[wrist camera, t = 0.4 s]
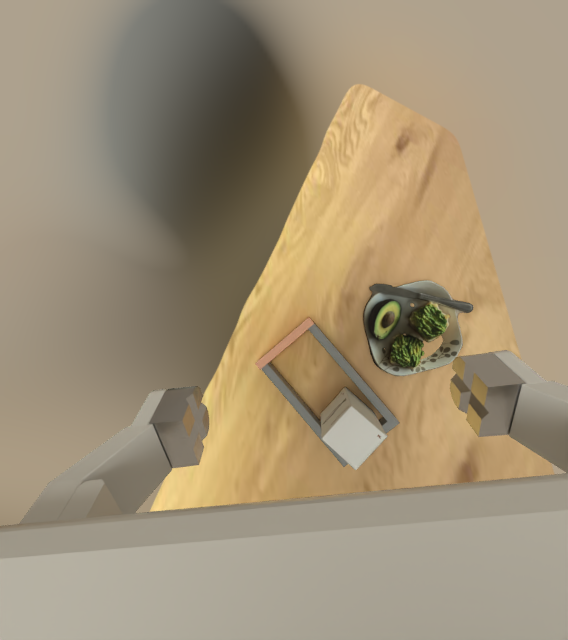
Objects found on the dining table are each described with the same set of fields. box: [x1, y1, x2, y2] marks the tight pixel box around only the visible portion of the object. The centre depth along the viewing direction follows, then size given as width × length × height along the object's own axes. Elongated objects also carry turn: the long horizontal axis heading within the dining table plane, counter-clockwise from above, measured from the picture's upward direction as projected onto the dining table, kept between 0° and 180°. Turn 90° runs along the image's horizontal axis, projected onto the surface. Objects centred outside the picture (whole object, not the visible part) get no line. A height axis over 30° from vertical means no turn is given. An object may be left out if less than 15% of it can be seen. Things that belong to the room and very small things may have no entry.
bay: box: [255, 318, 399, 467], centre depth 59 cm, size 25×13×4 cm, turn 41°
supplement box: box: [321, 387, 387, 470], centre depth 55 cm, size 7×7×13 cm
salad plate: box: [364, 281, 473, 376], centre depth 57 cm, size 19×18×5 cm
